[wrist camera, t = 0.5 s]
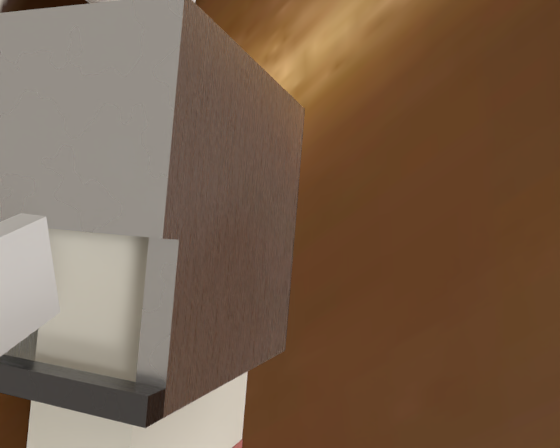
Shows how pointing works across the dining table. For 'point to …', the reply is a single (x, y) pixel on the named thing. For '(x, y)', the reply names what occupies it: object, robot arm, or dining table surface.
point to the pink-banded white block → (116, 351)
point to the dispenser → (154, 189)
